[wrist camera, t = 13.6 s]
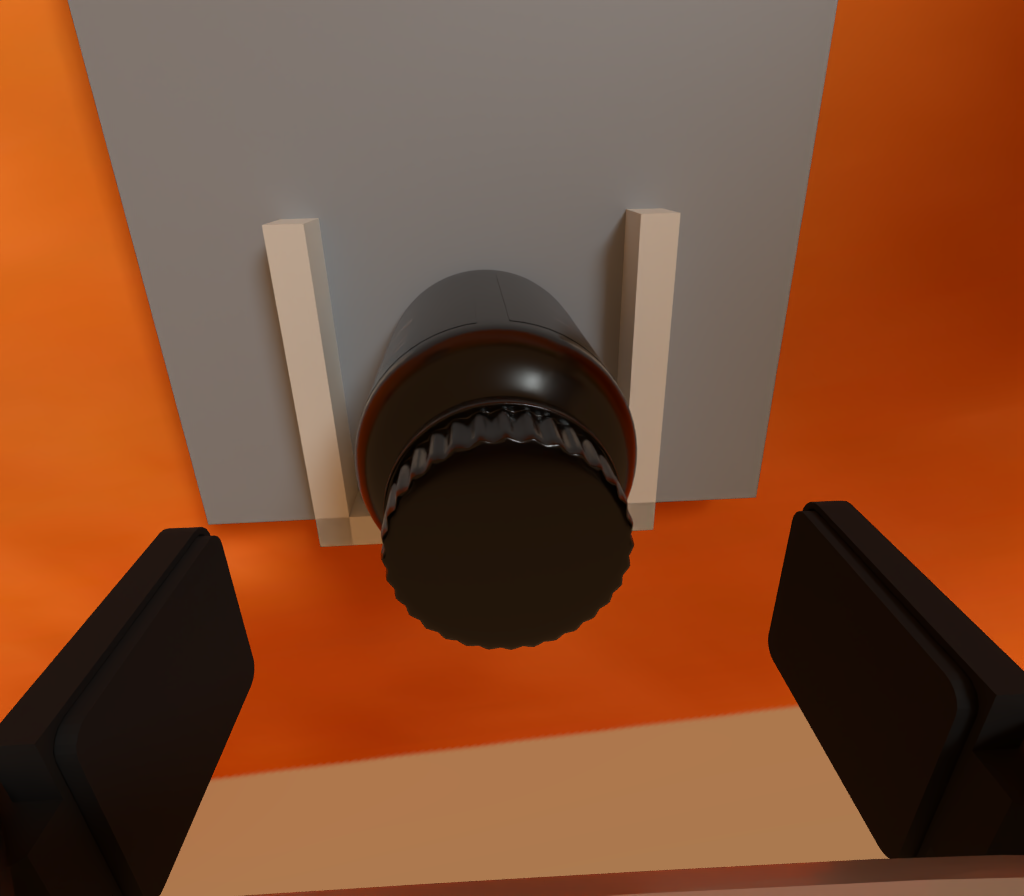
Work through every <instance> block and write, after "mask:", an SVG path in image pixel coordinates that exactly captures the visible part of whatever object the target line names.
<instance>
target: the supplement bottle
mask: <svg viewBox="0 0 1024 896" xmlns="http://www.w3.org/2000/svg"><path fill="white" fill-rule="evenodd" d="M636 464H637V439H636V431H635V426H634V421H633V418H632V415H631V412H630V409H629V407H628V404H627V402H626V400H625V398H624V395H623V394H622V392H621V390H620V388H619V386H618V385H617V383H616V381H615V379H614V378H613V376H612V375H611V374H610V372H609V371H608V369H607V368H606V366H605V365H604V364H603V362H602V361H601V359H600V358H599V357H598V355H597V354H596V352H595V351H594V350H593V348H592V347H591V345H590V344H589V342H588V341H587V340H586V338H585V337H584V335H583V334H582V333H581V331H580V330H579V328H578V327H577V326H576V324H575V323H574V321H573V320H572V319H571V317H570V316H569V314H568V313H567V312H566V310H565V309H564V308H563V307H562V306H561V304H560V303H559V302H558V301H557V300H556V299H555V298H554V297H553V296H552V295H551V294H550V293H548V292H547V291H546V290H545V289H543V288H542V287H540V286H539V285H537V284H536V283H534V282H532V281H530V280H528V279H526V278H524V277H522V276H519V275H516V274H513V273H509V272H505V271H499V270H471V271H466V272H461V273H458V274H454V275H451V276H449V277H447V278H444V279H442V280H440V281H438V282H436V283H435V284H433V285H432V286H430V287H429V288H427V289H426V290H425V291H423V292H422V293H421V294H420V295H419V296H418V297H417V298H416V299H415V300H414V301H413V302H412V303H411V304H410V305H409V307H408V308H407V309H406V310H405V312H404V313H403V315H402V316H401V318H400V320H399V322H398V324H397V326H396V328H395V330H394V332H393V334H392V337H391V339H390V342H389V344H388V347H387V350H386V352H385V355H384V357H383V360H382V363H381V365H380V368H379V370H378V373H377V375H376V378H375V381H374V383H373V386H372V388H371V391H370V394H369V396H368V399H367V402H366V404H365V407H364V409H363V412H362V415H361V419H360V423H359V427H358V432H357V438H356V445H355V468H356V476H357V481H358V486H359V489H360V493H361V496H362V499H363V501H364V504H365V506H366V508H367V510H368V512H369V514H370V516H371V518H372V519H373V521H374V523H375V524H376V526H377V527H378V528H379V530H380V531H381V539H382V543H383V546H382V551H381V560H382V562H383V563H384V565H385V567H386V580H387V581H388V582H389V584H390V585H391V586H392V587H393V588H394V589H395V596H396V599H397V600H398V601H400V602H401V603H402V604H404V605H405V606H406V608H407V611H408V613H409V615H410V616H412V617H414V618H416V619H419V620H420V621H421V622H422V624H423V625H424V626H425V628H426V629H429V630H433V631H436V632H438V633H440V634H441V636H443V637H444V638H445V639H450V640H457V641H459V642H461V643H462V644H464V645H466V646H481V647H483V648H486V649H495V648H505V649H510V650H512V649H516V648H519V647H521V646H528V647H535V646H537V645H539V644H541V643H542V642H545V641H554V640H557V639H558V638H560V637H561V636H562V635H563V634H564V633H568V632H572V631H575V630H577V629H578V628H579V627H580V625H581V624H582V623H583V622H585V621H588V620H590V619H592V618H594V617H595V615H596V614H597V612H598V610H599V609H600V608H602V607H603V606H605V605H606V604H608V603H609V602H610V600H611V597H612V594H613V592H615V591H616V590H617V589H618V588H619V587H620V586H621V585H622V577H623V574H624V573H625V572H626V571H627V569H628V568H629V566H630V559H629V555H630V553H631V551H632V549H633V547H634V541H633V538H632V535H631V532H632V528H633V520H632V517H631V515H630V513H629V511H628V502H627V499H628V497H629V494H630V491H631V488H632V485H633V481H634V477H635V472H636Z"/></svg>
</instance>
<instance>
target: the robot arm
mask: <svg viewBox="0 0 1024 896" xmlns="http://www.w3.org/2000/svg"><path fill="white" fill-rule="evenodd" d="M768 645H769V651H770V654H771V657H772V659H773V661H774V663H775V664H776V666H777V668H778V670H779V672H780V673H781V675H782V677H783V679H784V680H785V682H786V684H787V686H788V687H789V689H790V691H791V693H792V694H793V696H794V698H795V700H796V702H797V703H798V705H799V707H800V709H801V710H802V712H803V713H804V716H805V717H806V719H807V721H808V723H809V724H810V726H811V728H812V730H813V731H814V733H815V735H816V737H817V739H818V740H819V742H820V744H821V746H822V747H823V749H824V751H825V753H826V754H827V756H828V758H829V760H830V761H831V763H832V765H833V767H834V769H835V770H836V772H837V774H838V776H839V777H840V779H841V781H842V783H843V784H844V786H845V788H846V790H847V791H848V793H849V795H850V797H851V798H852V800H853V802H854V804H855V806H856V807H857V809H858V811H859V812H860V814H861V816H862V818H863V820H864V821H865V823H866V825H867V827H868V828H869V830H870V832H871V834H872V836H873V837H874V839H875V840H876V843H877V844H878V846H879V848H880V849H881V850H882V852H883V853H884V854H885V855H886V856H887V857H888V858H890V859H871V860H851V861H832V862H831V861H830V862H811V863H792V864H773V865H754V866H735V867H716V868H698V869H697V868H696V869H678V870H659V871H642V872H624V873H608V874H590V875H573V876H555V877H538V878H520V879H504V880H487V881H469V882H452V883H435V884H419V885H403V886H387V887H373V888H356V889H340V890H324V891H309V892H293V893H279V894H278V893H277V894H262V895H246V896H1024V671H1023V670H1022V669H1021V668H1020V667H1019V666H1018V665H1017V664H1016V663H1015V662H1014V661H1013V660H1012V659H1011V658H1010V657H1009V656H1008V655H1007V654H1006V653H1004V652H1003V651H1002V650H1001V649H1000V648H999V647H998V646H997V645H996V644H995V643H994V642H993V641H992V640H991V639H990V638H989V637H988V636H987V635H986V634H985V633H984V632H983V631H982V630H981V629H980V628H979V627H978V626H977V625H976V624H974V623H973V622H972V621H971V620H970V619H969V618H968V617H967V616H966V615H965V614H964V613H963V612H962V611H961V610H960V609H959V608H958V607H957V606H956V605H955V604H954V603H953V602H952V601H951V600H950V599H949V598H948V597H947V596H945V595H944V594H943V593H942V592H941V591H940V590H939V589H938V588H937V587H936V586H935V585H934V584H933V583H932V582H931V581H930V580H929V579H928V578H927V577H926V576H925V575H924V574H923V573H922V572H921V571H920V570H919V569H918V568H917V567H915V566H914V565H913V564H912V563H911V562H910V561H909V560H908V559H907V558H906V557H905V556H904V555H903V554H902V553H901V552H900V551H899V550H898V549H897V548H896V547H895V546H894V545H893V544H892V543H891V542H890V541H889V540H888V539H886V538H885V537H884V536H883V535H882V534H881V533H880V532H879V531H878V530H877V529H876V528H875V527H874V526H873V525H872V524H871V523H870V522H869V521H868V520H867V519H866V518H865V517H864V516H863V515H862V514H861V513H860V512H859V511H858V510H856V509H855V508H854V507H853V506H852V505H851V504H850V503H848V502H847V501H824V502H809V503H808V504H806V505H805V507H804V508H803V511H798V512H796V513H795V515H794V517H793V520H792V525H791V529H790V534H789V539H788V544H787V549H786V554H785V558H784V563H783V568H782V573H781V578H780V582H779V587H778V592H777V597H776V602H775V607H774V611H773V616H772V621H771V626H770V631H769V636H768ZM253 677H254V660H253V656H252V652H251V649H250V645H249V641H248V638H247V634H246V630H245V627H244V623H243V619H242V616H241V612H240V608H239V605H238V601H237V597H236V594H235V590H234V586H233V583H232V579H231V575H230V572H229V568H228V564H227V561H226V557H225V553H224V550H223V546H222V543H221V540H220V539H219V537H217V536H210V533H209V532H208V531H207V529H205V528H203V527H194V528H169V529H164V530H163V531H162V532H161V533H160V534H159V535H158V536H157V537H156V538H155V540H154V541H153V542H152V543H151V544H150V545H149V547H148V548H147V549H146V550H145V551H144V553H143V554H142V555H141V556H140V557H139V559H138V560H137V561H136V562H135V563H134V565H133V566H132V567H131V568H130V569H129V570H128V572H127V573H126V574H125V575H124V576H123V578H122V579H121V580H120V581H119V582H118V584H117V585H116V586H115V587H114V588H113V590H112V591H111V592H110V593H109V594H108V595H107V597H106V598H105V599H104V600H103V601H102V603H101V604H100V605H99V606H98V607H97V609H96V610H95V611H94V612H93V613H92V615H91V616H90V617H89V618H88V619H87V620H86V622H85V623H84V624H83V625H82V626H81V628H80V629H79V630H78V631H77V632H76V634H75V635H74V636H73V637H72V638H71V640H70V641H69V642H68V643H67V644H66V646H65V647H64V648H63V649H62V650H61V651H60V653H59V654H58V655H57V656H56V657H55V659H54V660H53V661H52V662H51V663H50V665H49V666H48V667H47V668H46V669H45V671H44V672H43V673H42V674H41V675H40V676H39V678H38V679H37V680H36V681H35V682H34V684H33V685H32V686H31V687H30V688H29V690H28V691H27V692H26V693H25V694H24V696H23V697H22V698H21V699H20V700H19V701H18V703H17V704H16V705H15V706H14V707H13V709H12V710H11V711H10V712H9V713H8V715H7V716H6V717H5V718H4V719H3V721H2V722H1V723H0V896H159V895H160V894H161V892H162V890H163V888H164V886H165V883H166V881H167V879H168V877H169V874H170V872H171V870H172V867H173V865H174V863H175V861H176V858H177V856H178V854H179V851H180V849H181V847H182V844H183V842H184V840H185V837H186V835H187V833H188V830H189V828H190V826H191V824H192V821H193V819H194V817H195V814H196V812H197V810H198V807H199V805H200V802H201V800H202V798H203V796H204V793H205V791H206V789H207V786H208V784H209V782H210V779H211V777H212V775H213V773H214V770H215V768H216V766H217V763H218V761H219V759H220V756H221V754H222V752H223V749H224V747H225V745H226V742H227V740H228V738H229V735H230V733H231V731H232V729H233V726H234V724H235V722H236V719H237V717H238V715H239V712H240V710H241V708H242V705H243V703H244V701H245V698H246V696H247V694H248V691H249V689H250V687H251V684H252V681H253Z"/></svg>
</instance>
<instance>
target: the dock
mask: <svg viewBox="0 0 1024 896" xmlns="http://www.w3.org/2000/svg"><path fill="white" fill-rule="evenodd" d="M837 3H838V0H68V4H69V7H70V11H71V15H72V19H73V22H74V26H75V30H76V33H77V37H78V41H79V45H80V48H81V52H82V56H83V59H84V63H85V67H86V71H87V74H88V78H89V82H90V85H91V89H92V93H93V97H94V100H95V104H96V108H97V111H98V115H99V119H100V123H101V126H102V130H103V134H104V138H105V141H106V145H107V149H108V152H109V156H110V160H111V164H112V167H113V171H114V175H115V178H116V182H117V186H118V190H119V193H120V197H121V201H122V204H123V208H124V212H125V216H126V219H127V223H128V227H129V230H130V234H131V238H132V242H133V245H134V249H135V253H136V257H137V260H138V264H139V268H140V271H141V275H142V279H143V283H144V286H145V290H146V294H147V297H148V301H149V305H150V309H151V312H152V316H153V320H154V323H155V327H156V331H157V335H158V338H159V342H160V346H161V349H162V353H163V357H164V361H165V364H166V368H167V372H168V376H169V379H170V383H171V387H172V390H173V394H174V398H175V402H176V405H177V409H178V413H179V416H180V420H181V424H182V428H183V431H184V435H185V439H186V442H187V446H188V450H189V454H190V457H191V461H192V465H193V468H194V472H195V476H196V480H197V483H198V487H199V491H200V495H201V498H202V502H203V506H204V509H205V513H206V517H207V521H208V524H209V525H210V524H230V523H250V522H270V521H290V520H310V519H316V525H317V530H318V536H319V541H320V547H327V546H347V545H366V544H383V543H382V539H381V531H380V530H379V528H378V527H377V526H376V524H375V523H374V521H373V519H372V518H371V516H370V514H369V512H368V510H367V508H366V506H365V504H364V501H363V499H362V496H361V493H360V489H359V486H358V481H357V476H356V468H355V445H356V438H357V432H358V427H359V423H360V419H361V415H362V412H363V409H364V407H365V404H366V402H367V399H368V396H369V394H370V391H371V388H372V386H373V383H374V381H375V378H376V375H377V373H378V370H379V368H380V365H381V363H382V360H383V357H384V355H385V352H386V350H387V347H388V344H389V342H390V339H391V337H392V334H393V332H394V330H395V328H396V326H397V324H398V322H399V320H400V318H401V316H402V315H403V313H404V312H405V310H406V309H407V308H408V307H409V305H410V304H411V303H412V302H413V301H414V300H415V299H416V298H417V297H418V296H419V295H420V294H421V293H422V292H423V291H425V290H426V289H427V288H429V287H430V286H432V285H433V284H435V283H436V282H438V281H440V280H442V279H444V278H447V277H449V276H451V275H454V274H458V273H461V272H466V271H471V270H499V271H505V272H509V273H513V274H516V275H519V276H522V277H524V278H526V279H528V280H530V281H532V282H534V283H536V284H537V285H539V286H540V287H542V288H543V289H545V290H546V291H547V292H548V293H550V294H551V295H552V296H553V297H554V298H555V299H556V300H557V301H558V302H559V303H560V304H561V306H562V307H563V308H564V309H565V310H566V312H567V313H568V314H569V316H570V317H571V319H572V320H573V321H574V323H575V324H576V326H577V327H578V328H579V330H580V331H581V333H582V334H583V335H584V337H585V338H586V340H587V341H588V342H589V344H590V345H591V347H592V348H593V350H594V351H595V352H596V354H597V355H598V357H599V358H600V359H601V361H602V362H603V364H604V365H605V366H606V368H607V369H608V371H609V372H610V374H611V375H612V376H613V378H614V379H615V381H616V383H617V385H618V386H619V388H620V390H621V392H622V394H623V395H624V398H625V400H626V402H627V404H628V407H629V409H630V412H631V415H632V418H633V421H634V426H635V431H636V439H637V464H636V472H635V477H634V481H633V485H632V488H631V491H630V494H629V497H628V499H627V502H628V511H629V513H630V515H631V517H632V520H633V528H632V531H637V530H653V526H654V514H655V503H656V502H672V501H692V500H712V499H733V498H753V497H756V494H757V488H758V482H759V476H760V470H761V464H762V458H763V451H764V445H765V439H766V433H767V427H768V421H769V415H770V409H771V403H772V397H773V391H774V385H775V379H776V373H777V367H778V360H779V354H780V348H781V342H782V336H783V330H784V324H785V318H786V312H787V306H788V300H789V294H790V288H791V282H792V276H793V269H794V263H795V257H796V251H797V245H798V239H799V233H800V227H801V221H802V215H803V209H804V203H805V197H806V191H807V185H808V178H809V172H810V166H811V160H812V154H813V148H814V142H815V136H816V130H817V124H818V118H819V112H820V106H821V100H822V94H823V87H824V81H825V75H826V69H827V63H828V57H829V51H830V45H831V39H832V33H833V27H834V21H835V15H836V9H837Z"/></svg>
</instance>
